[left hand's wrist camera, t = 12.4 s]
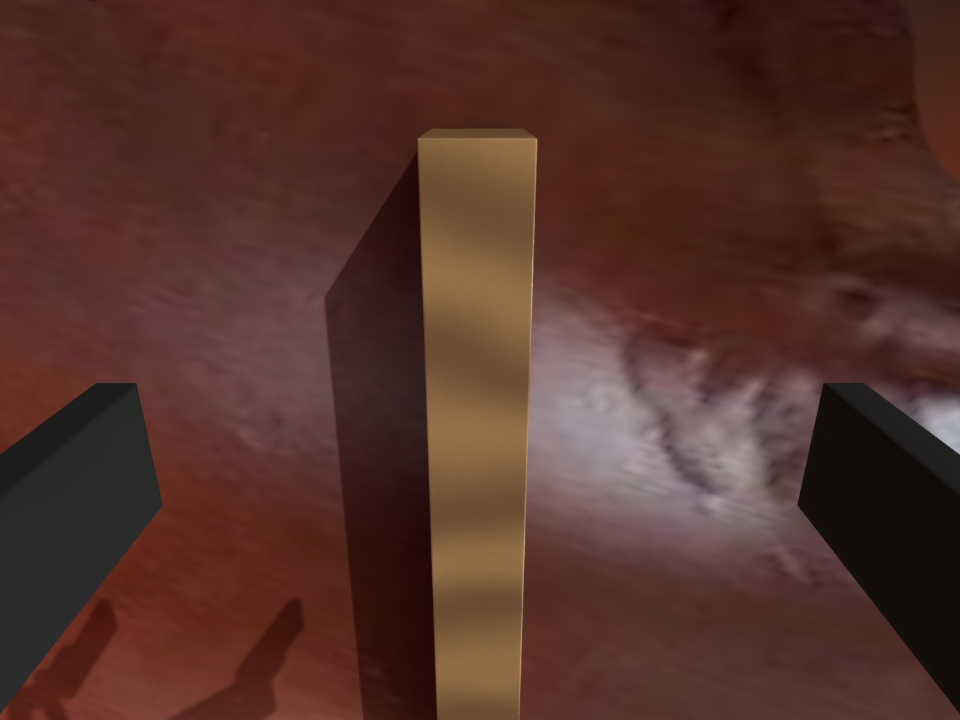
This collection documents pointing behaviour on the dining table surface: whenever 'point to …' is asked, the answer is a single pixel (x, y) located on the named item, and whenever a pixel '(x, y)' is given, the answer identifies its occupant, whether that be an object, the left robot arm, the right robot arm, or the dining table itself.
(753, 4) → the dining table surface
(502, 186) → the bar
